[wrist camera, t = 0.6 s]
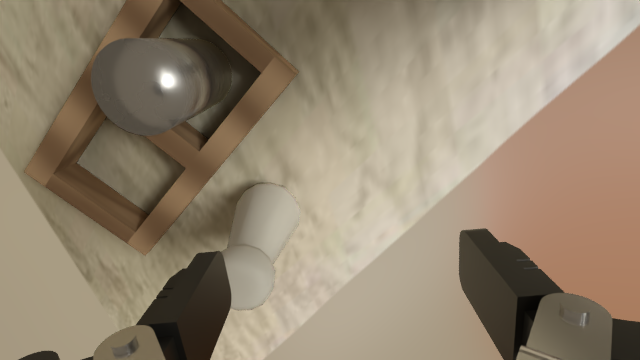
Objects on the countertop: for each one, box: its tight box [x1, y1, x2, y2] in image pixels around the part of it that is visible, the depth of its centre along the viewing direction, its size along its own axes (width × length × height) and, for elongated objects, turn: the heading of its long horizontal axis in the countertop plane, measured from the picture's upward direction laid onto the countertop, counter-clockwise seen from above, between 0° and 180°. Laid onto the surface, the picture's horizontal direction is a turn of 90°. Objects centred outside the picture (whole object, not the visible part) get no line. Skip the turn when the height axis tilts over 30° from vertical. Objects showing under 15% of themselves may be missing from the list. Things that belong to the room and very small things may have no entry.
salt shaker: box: [221, 183, 300, 311], centre depth 28 cm, size 6×6×13 cm
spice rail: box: [24, 0, 299, 255], centre depth 30 cm, size 22×12×3 cm, turn 138°
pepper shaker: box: [91, 38, 232, 136], centre depth 26 cm, size 6×6×10 cm
